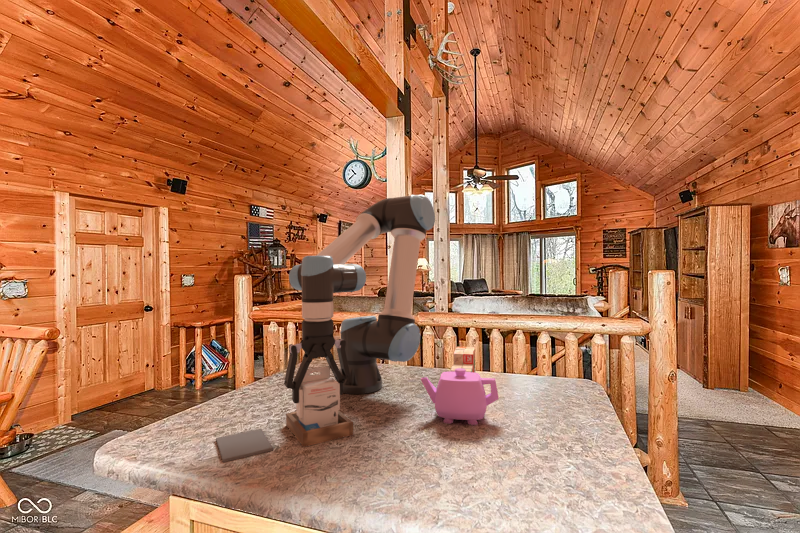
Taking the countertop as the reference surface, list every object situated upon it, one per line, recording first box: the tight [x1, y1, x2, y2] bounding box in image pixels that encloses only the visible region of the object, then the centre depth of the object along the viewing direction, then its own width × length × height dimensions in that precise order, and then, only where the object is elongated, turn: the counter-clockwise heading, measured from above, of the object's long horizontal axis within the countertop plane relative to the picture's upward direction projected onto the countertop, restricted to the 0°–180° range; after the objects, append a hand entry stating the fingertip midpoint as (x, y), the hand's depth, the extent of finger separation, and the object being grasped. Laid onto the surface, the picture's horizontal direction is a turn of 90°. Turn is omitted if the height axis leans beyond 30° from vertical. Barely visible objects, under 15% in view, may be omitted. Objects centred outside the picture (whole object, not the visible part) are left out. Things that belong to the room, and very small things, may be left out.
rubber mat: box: [215, 428, 274, 463], centre depth 88 cm, size 10×12×1 cm
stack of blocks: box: [450, 346, 476, 373], centre depth 126 cm, size 21×6×12 cm, turn 166°
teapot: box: [420, 368, 499, 426], centre depth 104 cm, size 20×12×13 cm, turn 80°
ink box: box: [299, 365, 338, 431], centre depth 96 cm, size 8×5×15 cm, turn 123°
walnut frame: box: [285, 410, 354, 448], centre depth 96 cm, size 12×14×3 cm
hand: (318, 412), depth 96 cm, fingers closed on ink box, 9 cm apart
